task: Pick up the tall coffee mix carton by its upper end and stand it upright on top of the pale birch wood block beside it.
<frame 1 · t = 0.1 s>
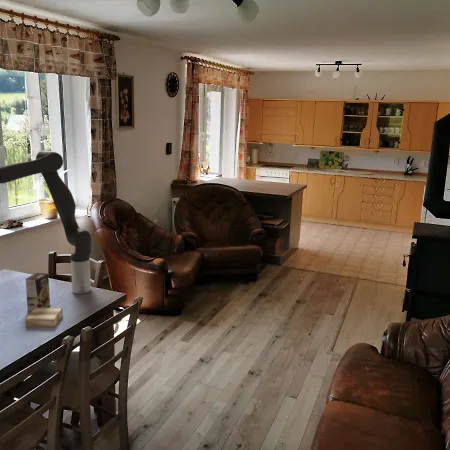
birch block: (44, 321, 200), on the table
coffee box: (39, 308, 212), on the table
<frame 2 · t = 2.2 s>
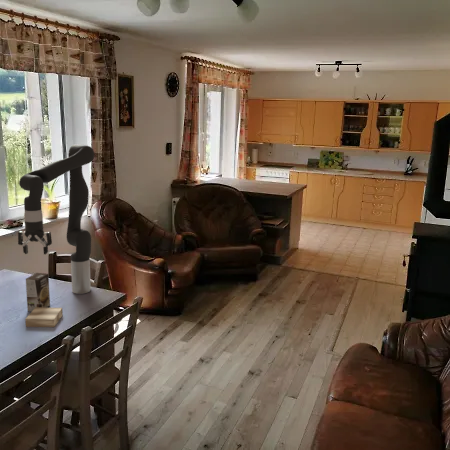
hand: (35, 253, 205), 27 cm above the table, tool pointing down, fingers open, 8 cm apart
nothing on the table moved.
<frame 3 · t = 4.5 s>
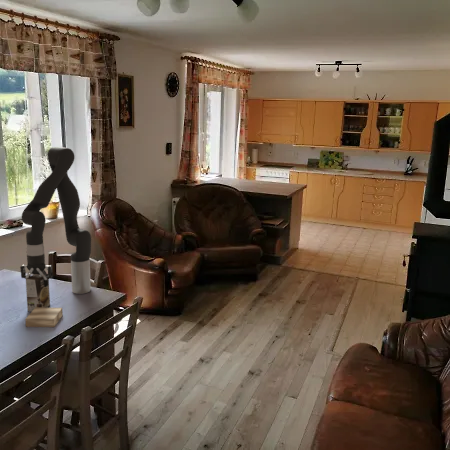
hand: (37, 286, 209), 11 cm above the table, tool pointing down, fingers closed on coffee box, 7 cm apart
coffee box: (39, 308, 212), on the table, touching gripper
everything else where it was.
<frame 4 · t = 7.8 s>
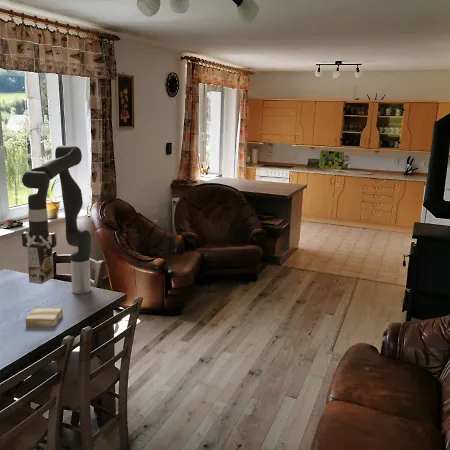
hand: (40, 256, 192), 30 cm above the table, tool pointing down, fingers closed on coffee box, 7 cm apart
coffee box: (41, 280, 195), point 19 cm above the table, touching gripper
everything else where it was.
when the fingers open (16 cm above the table, at t = 11.5 s): coffee box drops 2 cm, point 3 cm above the table.
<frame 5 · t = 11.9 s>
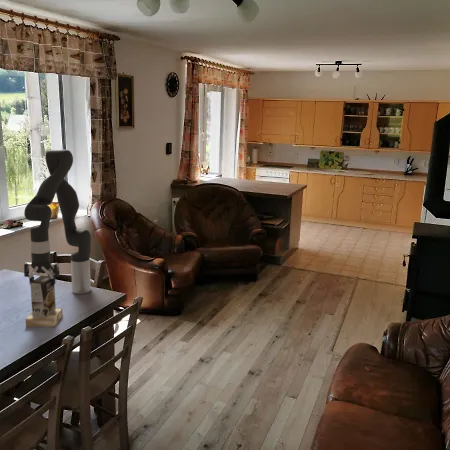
hand: (42, 285, 196), 17 cm above the table, tool pointing down, fingers open, 8 cm apart
coffee box: (44, 313, 199), point 3 cm above the table
everything else where it was.
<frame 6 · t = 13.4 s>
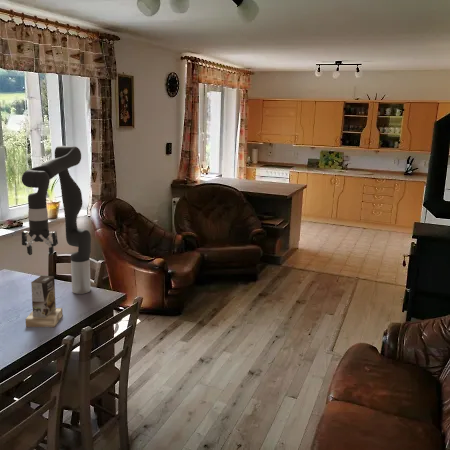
hand: (40, 254, 192), 31 cm above the table, tool pointing down, fingers open, 8 cm apart
birch block: (44, 321, 200), on the table, touching coffee box
coffee box: (44, 313, 199), point 3 cm above the table, touching birch block
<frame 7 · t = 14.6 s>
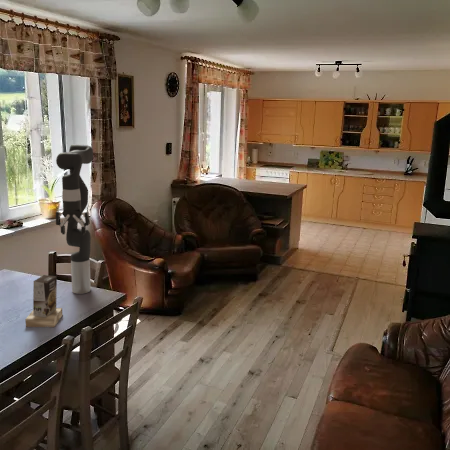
hand: (73, 234, 200), 38 cm above the table, tool pointing down, fingers open, 8 cm apart
birch block: (44, 321, 200), on the table
coffee box: (45, 313, 199), point 3 cm above the table
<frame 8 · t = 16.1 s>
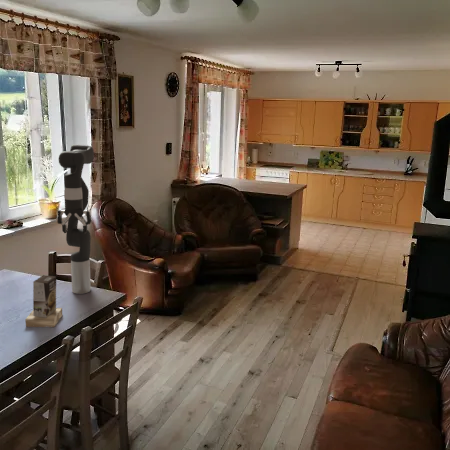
hand: (75, 233, 201), 38 cm above the table, tool pointing down, fingers open, 8 cm apart
nothing on the table moved.
at the end: coffee box inside the target area on the birch block (0.3 cm from its centre), point 4.0 cm above the birch block's base; coffee box tilted 3°; the gripper is holding nothing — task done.
